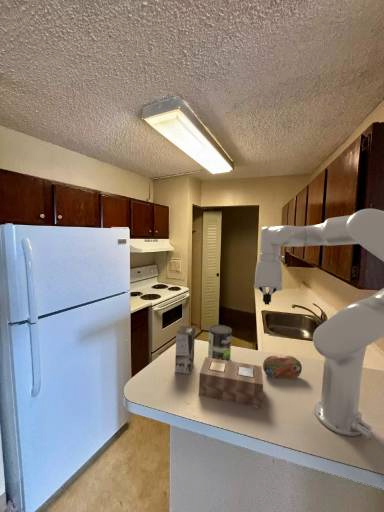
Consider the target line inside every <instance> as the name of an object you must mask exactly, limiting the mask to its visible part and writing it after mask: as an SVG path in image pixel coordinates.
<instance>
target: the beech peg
mask: <svg viewBox="0 0 384 512" xmlns="http://www.w3.org/2000/svg"><path fill="white" fill-rule="evenodd" d="M210 370H211V371H217V372H222V373H225V364H222V363H216V362H212V363H211V367H210Z"/></svg>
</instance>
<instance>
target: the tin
mask: <svg viewBox="0 0 384 512" xmlns="http://www.w3.org/2000/svg"><path fill="white" fill-rule="evenodd" d="M302 368H303V366H302V364H301V362H300V361H299V360H298V358H296V357H294V356H291V355H270V356H267V357H266V358H265V359H264V361H263V363H262V371H264V374H265V375H266V377H267V378H269V379H271V380H294V379H296V378H298V377H299V376H300V375H301V373H302V371H303V369H302Z"/></svg>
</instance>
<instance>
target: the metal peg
mask: <svg viewBox="0 0 384 512" xmlns="http://www.w3.org/2000/svg"><path fill="white" fill-rule="evenodd" d="M238 375H239V376H245V377H251V378H253V369H250V368H244V367H239V372H238Z"/></svg>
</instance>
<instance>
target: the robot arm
mask: <svg viewBox="0 0 384 512" xmlns="http://www.w3.org/2000/svg"><path fill="white" fill-rule="evenodd" d="M357 244H358V245H360V246H361V247H362V248H364V249H365V250H367V252H370V253H371V254H372V255H373V256H375V257H376V258H378V259H379V260H381V261H382V262H384V210H380V209H376V208H364V209H360V210H358V211H356V212H353V214H350V215H343V216H336V217H335V216H334V217H330V218H329V217H328V218H327V219H325V220H324V222H322V223H319V224H313V225H304V226H297V225H289V224H288V225H286V224H285V225H278V226H272V225H271V226H268V225H267V226H263V227H262V228H261V231H260V247H259V260H257V261H256V265H255V272H254V273H255V274H254V285H253V288H254V289H256V290H259V291H260V292H261V293H262V302H263V303H264V305H268V306H269V305H270V303H272V295H273V294H274V293H276V292H277V291H279V292H280V291H282V290H283V265H282V262H281V261H282V260H284V259H285V256H284V255H281V247H311V246H312V247H314V246H327V247H328V246H329V247H330V246H342V245H344V246H345V245H357ZM267 288H269V289H268V292H267ZM382 338H384V287H383V288H381V289H380V290H379V291H377V292H376V293H374V294H372V295H371V296H369V297H366V298H363V299H360V300H357V301H354V302H351V303H350V304H347V306H345V307H344V308H342V309H340V310H339V311H338V312H336V313H335V314H333V315H332V316H331V317H329V318H328V319H327V320H325V321H323V323H321V324H320V325H319V326H318V327H317V328H315V330H314V332H313V335H312V343H313V346H314V348H315V350H316V351H317V352H318V353H319V354H320V355H321V356H323V357H324V361H323V372H322V373H323V374H322V385H321V397H320V401H318V402H316V404H315V405H314V414H315V416H316V418H317V420H319V421H320V423H322V425H324V426H325V427H327V428H328V429H330V430H331V431H333V432H336V433H337V434H340V435H344V436H350V437H355V436H360V435H361V434H362V435H363V436H364V437H365V438H366V439H368V440H369V439H371V438H372V435H373V432H372V426H371V425H370V424H368V423H366V422H365V421H364V420H363V419H362V415H363V414H362V413H361V412H359V404H360V403H359V402H360V394H361V383H362V373H363V366H364V360H365V356H366V351H367V347H368V346H370V345H372V344H373V343H375V342H378V340H380V339H382Z"/></svg>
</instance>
